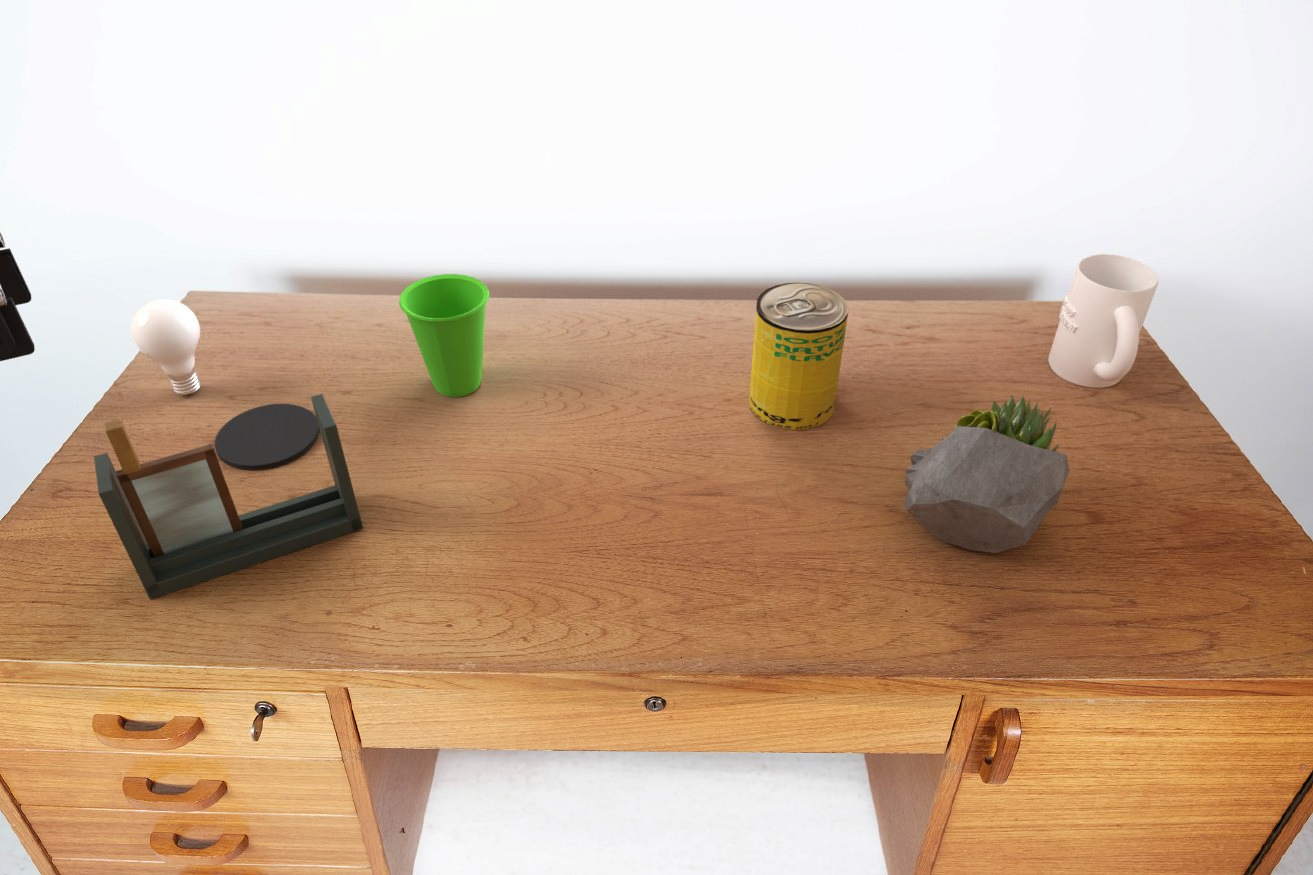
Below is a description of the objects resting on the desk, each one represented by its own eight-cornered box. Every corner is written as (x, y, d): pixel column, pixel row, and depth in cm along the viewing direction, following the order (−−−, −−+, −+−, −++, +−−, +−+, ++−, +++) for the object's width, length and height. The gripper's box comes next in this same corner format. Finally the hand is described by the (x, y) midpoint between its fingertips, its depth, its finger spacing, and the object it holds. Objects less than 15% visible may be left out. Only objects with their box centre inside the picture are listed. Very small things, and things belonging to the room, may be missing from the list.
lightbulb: (175, 373, 106) (142, 285, 99) (230, 377, 106) (201, 289, 99) (145, 407, 101) (108, 318, 94) (203, 412, 101) (170, 322, 94)
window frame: (150, 599, 81) (98, 493, 73) (143, 561, 84) (93, 456, 77) (363, 528, 87) (336, 424, 80) (349, 495, 91) (322, 393, 83)
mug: (1069, 410, 102) (1102, 312, 94) (1036, 347, 111) (1064, 253, 103) (1148, 411, 101) (1187, 313, 94) (1108, 347, 111) (1142, 254, 103)
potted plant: (867, 505, 85) (916, 382, 93) (964, 586, 89) (1004, 461, 96) (973, 473, 75) (1018, 338, 83) (1078, 566, 79) (1112, 428, 86)
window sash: (157, 566, 82) (96, 433, 72) (156, 557, 82) (94, 425, 73) (246, 538, 84) (197, 406, 75) (243, 529, 85) (195, 398, 76)
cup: (507, 362, 108) (497, 275, 101) (488, 411, 101) (476, 321, 94) (429, 357, 109) (414, 271, 102) (405, 406, 102) (386, 316, 95)
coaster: (225, 482, 92) (223, 477, 92) (208, 425, 99) (207, 420, 99) (330, 450, 96) (329, 446, 96) (307, 398, 103) (306, 393, 102)
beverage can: (851, 413, 101) (867, 314, 93) (781, 439, 98) (791, 339, 90) (800, 370, 107) (811, 274, 100) (732, 393, 104) (738, 296, 96)
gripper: (-184, 32, 59) (-51, 286, 71) (-228, 126, 47) (-60, 414, 59) (-44, 15, 62) (62, 263, 73) (-52, 101, 50) (76, 380, 61)
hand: (7, 328), depth 66 cm, fingers open, 6 cm apart
